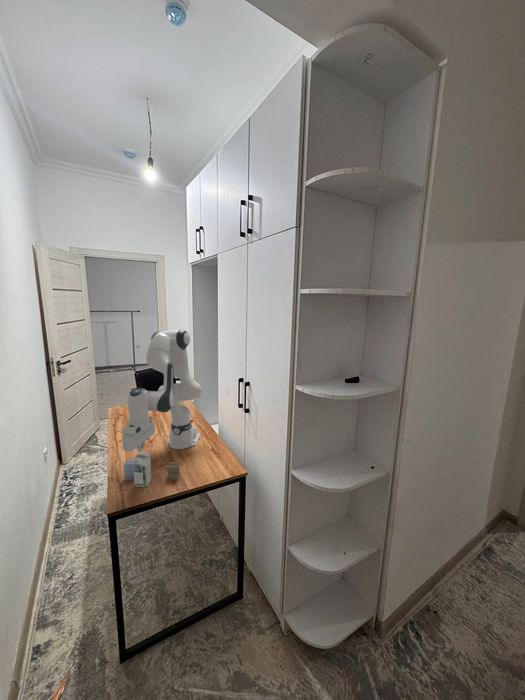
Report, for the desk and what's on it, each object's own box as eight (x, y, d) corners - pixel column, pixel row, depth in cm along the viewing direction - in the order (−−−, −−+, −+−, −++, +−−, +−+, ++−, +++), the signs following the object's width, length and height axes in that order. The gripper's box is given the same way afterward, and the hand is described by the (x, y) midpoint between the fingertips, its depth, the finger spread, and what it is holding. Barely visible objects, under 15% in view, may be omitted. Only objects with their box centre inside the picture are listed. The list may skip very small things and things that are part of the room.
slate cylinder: (128, 474, 147) (128, 459, 146) (137, 475, 147) (136, 461, 145) (122, 480, 143) (121, 465, 141) (131, 481, 142) (130, 466, 140)
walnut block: (169, 474, 148) (168, 462, 146) (179, 474, 148) (179, 461, 147) (167, 480, 143) (167, 467, 142) (178, 479, 144) (177, 466, 142)
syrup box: (134, 486, 138) (132, 458, 135) (141, 479, 143) (139, 452, 141) (145, 487, 137) (143, 459, 135) (151, 480, 143) (150, 453, 140)
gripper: (146, 414, 146) (147, 440, 148) (119, 431, 126) (121, 461, 128) (157, 415, 144) (158, 441, 147) (131, 433, 125) (133, 462, 127)
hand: (140, 450), depth 137 cm, fingers closed
